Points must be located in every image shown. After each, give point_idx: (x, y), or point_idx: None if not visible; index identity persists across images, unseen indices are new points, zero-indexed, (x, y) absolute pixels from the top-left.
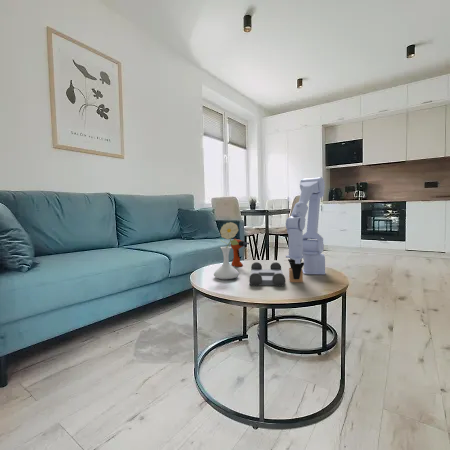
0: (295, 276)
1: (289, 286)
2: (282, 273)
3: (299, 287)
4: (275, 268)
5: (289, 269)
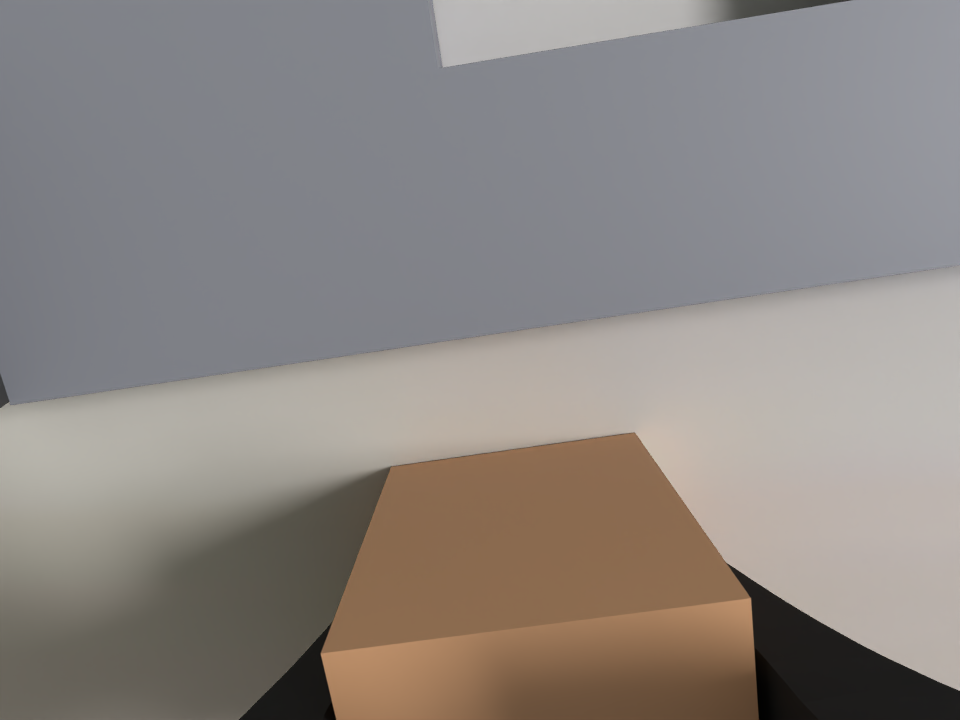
0: None
1: (46, 464)
2: (819, 277)
3: (43, 646)
4: None
5: (582, 600)
